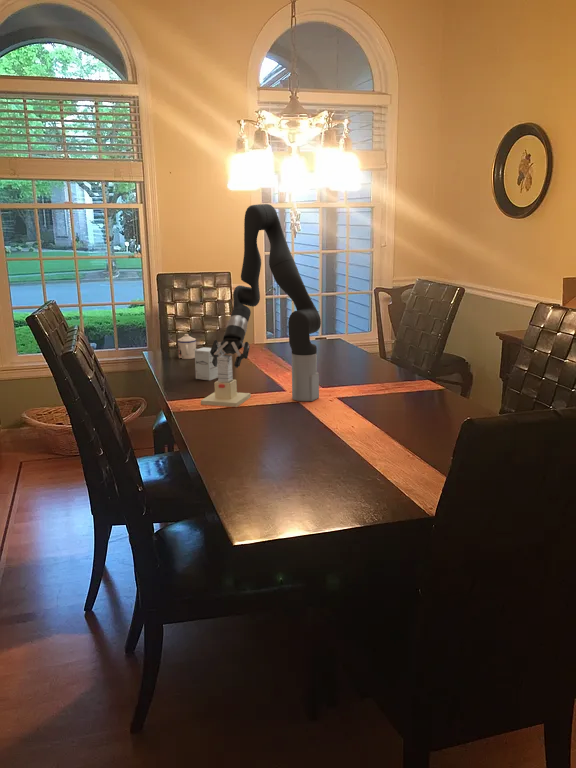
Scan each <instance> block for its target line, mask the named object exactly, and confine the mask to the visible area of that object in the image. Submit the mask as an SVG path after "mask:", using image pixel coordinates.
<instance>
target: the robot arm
mask: <svg viewBox="0 0 576 768" xmlns="http://www.w3.org/2000/svg"><path fill="white" fill-rule="evenodd" d="M243 224H244V225H243V227H244V229H243V232H244V233H243V235H244V236H243V241H244V243H243V244H244V246H243V249H244V250H243V260H242V265H241V267H242V268H241V273H240V279H241V281H242V282H244V283H246V284H247V285H249V286H250V287H249V286H245V285H237V286H236V287H235V288H234V289H233V292H232V293H233V294H232V297H233V298H232V299H233V300H232V301H233V302H232V303H233V306H232V311H231V314H230V317H229V320H228V321H227V324H226V327H225V331H224V334H223V338H222V341H218V340H217V339H214V341H213V343H212V346H211V347H210V348H211V351H210V353H211V355H212V357H213V361H212V363H213V365H214V366H215V367H216V366H217V363H218V362H217V357H219V356H221V355H231V354H232V355H234V354H236V358H235V361H234V364H233V365H234V367H235V369H238V368H239V367H240V366H241V364H242V360H244V359H248V357H249V352H250V347H251V345H250V344H249V342H248V341H245V340H244V339H245V336H246V333H247V329H248V324H249V320H250V318H251V313H252V312H251V309H250V308H249V307H251V308H252V307H256V306H258V305H259V303H260V302H261V301H260V300H261V293H260V284H259V283H260V281H259V280H260V275H261V270H262V269H261V268H262V257H261V254H260V251H259V247H258V237H259V236H258V235H259V232H260V231H265V233H266V236H267V239H268V241H269V242H268V243H269V248H270V249H269V250H270V251H269V257H268V263H269V264H268V266H269V268H270V272H271V274H272V276H273V279H274V281H275V282H276V284H277V286H279V288H280V289H281V290H282V291H283V292H284V293H285V294H286V295H287V296H288V297H289V298H290V299H291V301H292V302H293V305H294V307H295V309H296V310H295V311H293V312H291V313H290V315H289V317H288V321H287V327H288V328H287V329H288V343H289V347H290V350H291V394H292V395H291V396H292V397H291V398H292V400H294V401H296V402H297V401H298V402H313V401H315V400H317V399H319V398H320V373H319V372H318V371H317V370H318V366H317V365H318V364H317V363H318V362H317V361H318V360H317V357H318V356H317V354H318V352H317V351H318V349H317V345H316V344H314V343H312V342H311V337H310V335H311V334H314V333H317V332H318V331H319V330H320V329H321V324H322V321H321V320H322V319H321V316H320V314H319V311H318V310H317V308H316V305H315V304H314V302H313V300H312V298H311V297H310V294H309V292H308V291H307V288H306V286H305V284H304V282H303V279H302V277H301V274H300V272H299V269H298V267H297V264H296V262H295V259H294V257H293V254H292V253H291V250H290V248H289V245H288V241H287V240H286V238H285V235H284V231H283V227H282V225H281V221H280V218H279V215H278V213H277V211H276V208H275V207H274V206H273V205H271V204H268V203H265V204H264V203H261V204H258V203H257V204H252V205H249V206H247V208H246V210H245V213H244V221H243ZM244 341H245V342H244ZM242 348H243V349H242ZM217 349H218V350H217ZM241 349H242V353H241V352H240V350H241Z"/></svg>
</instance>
